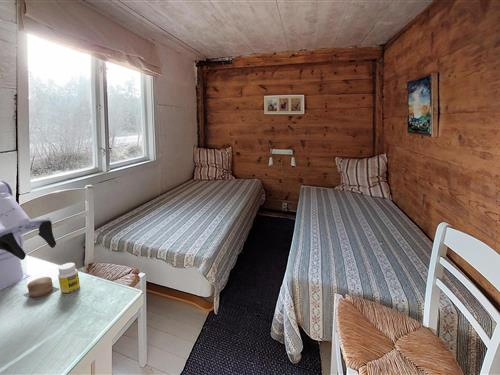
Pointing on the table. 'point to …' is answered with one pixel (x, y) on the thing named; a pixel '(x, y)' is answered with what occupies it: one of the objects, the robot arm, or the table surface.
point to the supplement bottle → (68, 279)
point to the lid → (40, 287)
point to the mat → (42, 296)
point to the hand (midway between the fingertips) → (39, 251)
